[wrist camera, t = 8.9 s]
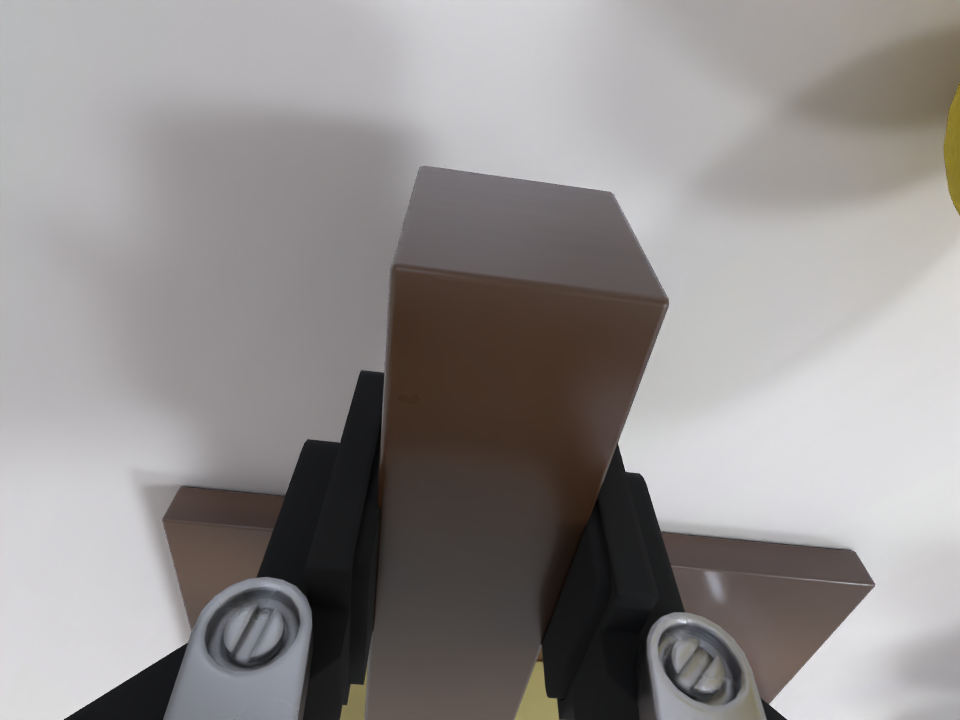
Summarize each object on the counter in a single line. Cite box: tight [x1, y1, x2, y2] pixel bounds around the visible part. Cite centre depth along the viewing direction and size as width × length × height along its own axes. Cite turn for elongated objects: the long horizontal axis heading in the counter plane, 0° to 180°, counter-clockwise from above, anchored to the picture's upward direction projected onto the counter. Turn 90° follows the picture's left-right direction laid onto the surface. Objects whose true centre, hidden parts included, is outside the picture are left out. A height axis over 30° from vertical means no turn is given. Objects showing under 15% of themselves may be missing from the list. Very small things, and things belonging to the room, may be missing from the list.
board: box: [162, 487, 875, 704], centre depth 21 cm, size 16×20×1 cm
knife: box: [364, 166, 669, 720], centre depth 13 cm, size 22×3×3 cm, turn 172°
